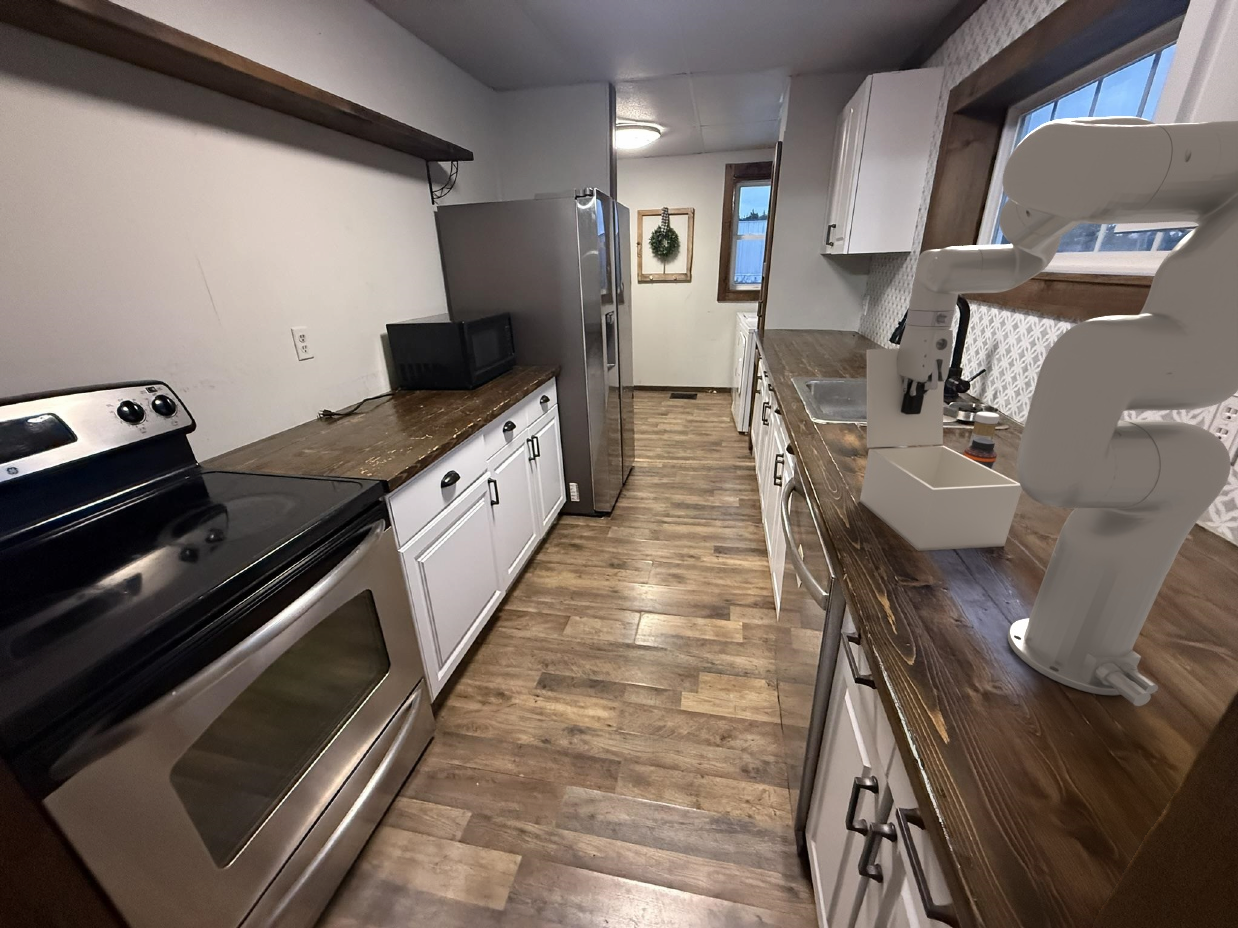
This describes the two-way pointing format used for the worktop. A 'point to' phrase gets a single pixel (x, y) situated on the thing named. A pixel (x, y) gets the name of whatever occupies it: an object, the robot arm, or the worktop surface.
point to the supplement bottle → (982, 452)
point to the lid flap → (898, 406)
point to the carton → (939, 497)
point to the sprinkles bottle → (984, 425)
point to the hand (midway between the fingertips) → (910, 413)
